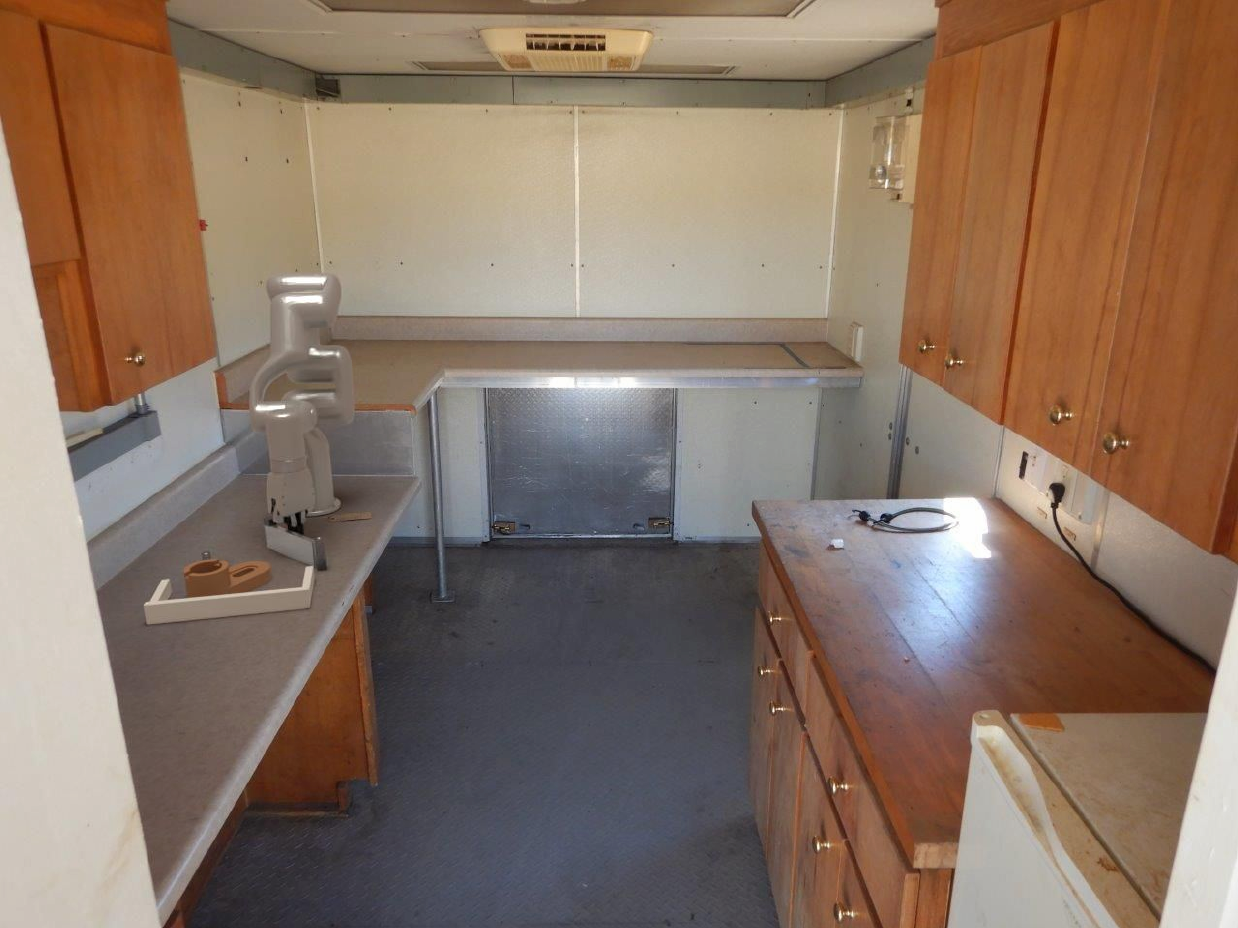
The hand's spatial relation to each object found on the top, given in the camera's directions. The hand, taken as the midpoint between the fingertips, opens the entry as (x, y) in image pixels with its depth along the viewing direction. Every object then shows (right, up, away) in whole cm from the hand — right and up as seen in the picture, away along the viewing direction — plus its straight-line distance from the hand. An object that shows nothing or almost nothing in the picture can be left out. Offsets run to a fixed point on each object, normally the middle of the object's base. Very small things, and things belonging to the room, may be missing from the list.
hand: (296, 539), depth 201 cm
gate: (0, -4, -3) cm, 5 cm away
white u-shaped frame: (-4, -10, -23) cm, 26 cm away
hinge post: (+9, -6, -9) cm, 14 cm away
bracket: (-7, -9, -19) cm, 22 cm away
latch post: (-13, -7, -14) cm, 21 cm away
